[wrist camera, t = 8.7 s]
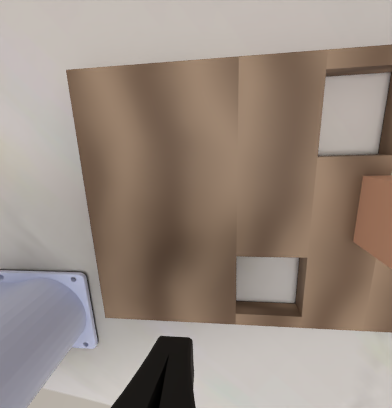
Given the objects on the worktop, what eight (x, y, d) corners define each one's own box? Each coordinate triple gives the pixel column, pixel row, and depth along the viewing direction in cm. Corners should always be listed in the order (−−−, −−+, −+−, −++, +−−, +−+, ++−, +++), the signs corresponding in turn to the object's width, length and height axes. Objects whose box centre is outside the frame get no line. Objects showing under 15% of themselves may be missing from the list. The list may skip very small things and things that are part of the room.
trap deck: (113, 305, 21) (105, 317, 19) (80, 76, 16) (66, 69, 14) (411, 319, 18) (428, 334, 16) (478, 47, 13) (509, 35, 12)
